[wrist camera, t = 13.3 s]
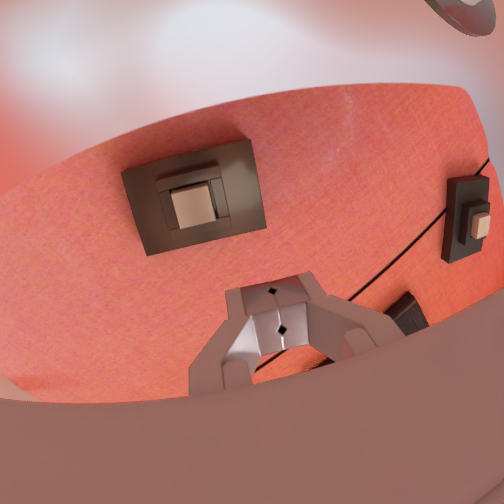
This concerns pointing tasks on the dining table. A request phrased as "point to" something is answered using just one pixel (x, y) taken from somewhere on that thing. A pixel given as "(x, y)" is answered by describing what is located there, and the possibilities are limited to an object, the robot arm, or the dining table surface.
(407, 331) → the hardcover book
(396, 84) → the dining table surface
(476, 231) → the far key
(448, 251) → the far block
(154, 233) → the near block
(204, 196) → the near key
